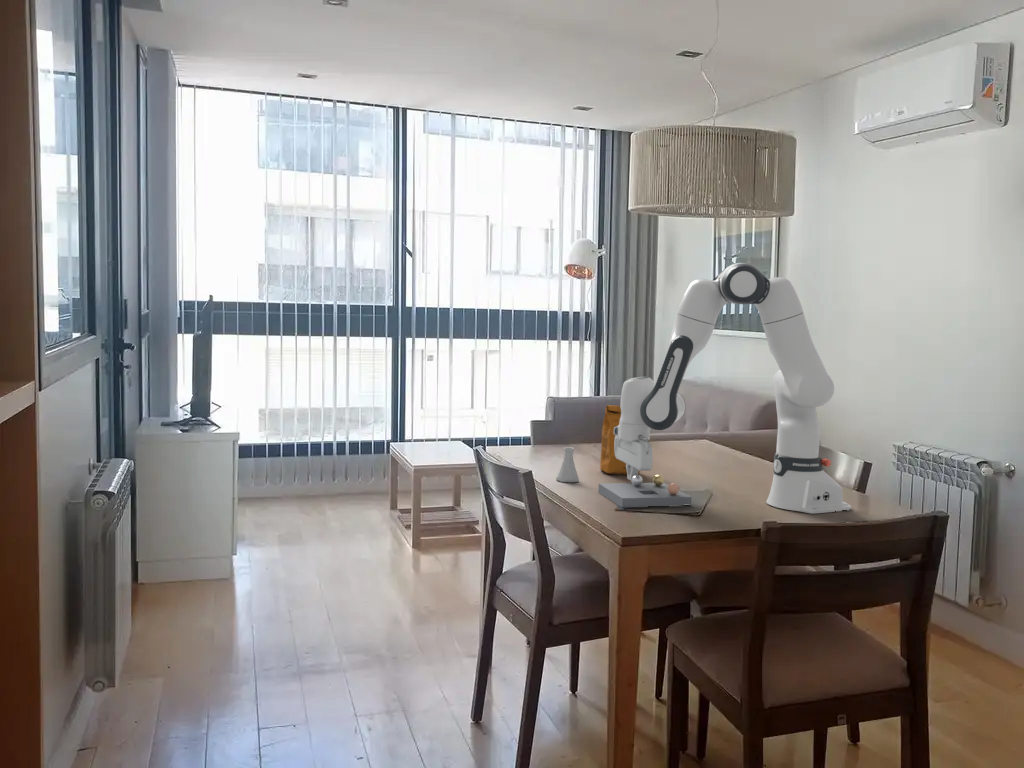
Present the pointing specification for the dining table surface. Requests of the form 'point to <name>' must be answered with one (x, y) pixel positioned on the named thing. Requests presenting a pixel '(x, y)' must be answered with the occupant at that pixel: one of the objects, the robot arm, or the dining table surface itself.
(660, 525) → the dining table surface
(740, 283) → the robot arm
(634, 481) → the steel ball
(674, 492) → the terracotta ball
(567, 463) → the flask
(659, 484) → the brass ball
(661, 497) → the seat plate
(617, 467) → the coffee package
